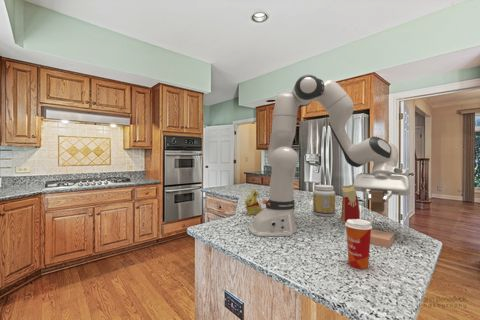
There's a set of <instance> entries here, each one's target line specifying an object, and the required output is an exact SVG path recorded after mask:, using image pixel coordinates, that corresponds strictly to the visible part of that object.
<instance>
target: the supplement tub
mask: <svg viewBox="0 0 480 320" xmlns="http://www.w3.org/2000/svg"><path fill="white" fill-rule="evenodd" d="M334 189H335V188H334V185H332V184H331V185H330V184H314V190H313V191H312V193H313V194H312V195H313V196H312V198H313V200H312V204H313V205H312V207H313V208H312V211H313V214H314V215H316V216H317V217H318V216H319V217H324V218H325V217H326V218H327V217H334V216H335V214H336V191H335V190H334Z"/></svg>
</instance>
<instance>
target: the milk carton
mask: <svg viewBox="0 0 480 320" xmlns="http://www.w3.org/2000/svg"><path fill="white" fill-rule="evenodd" d="M353 184H354V183H353ZM353 184H349V185H341V186H340V187H341V189H342V190H343V191H342V199H341V201H342V202H341V215H340V222H341V223H343V224H346V222H347V220H348V219H350V220H351V219H355V220H356V219H361V209H360V208H361V207H360V201H359V197H358V195H357V191H356V190H355V189H354V186H353Z"/></svg>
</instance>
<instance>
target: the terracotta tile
mask: <svg viewBox="0 0 480 320" xmlns="http://www.w3.org/2000/svg"><path fill="white" fill-rule="evenodd" d="M394 242H395V233H393V232H389V231H383V230H378V229H373V228H372V229H371V236H370V245H374V246H378V247H384V248H388V249H390V247H391V246H392V245H393V243H394Z"/></svg>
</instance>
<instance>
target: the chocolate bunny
mask: <svg viewBox="0 0 480 320" xmlns="http://www.w3.org/2000/svg"><path fill="white" fill-rule="evenodd" d="M258 196H259V191H257V190H256V189H254V188H253V189H252V190H251V192H250V194H249V195H248V196H247V197H246V198H245V200H244V203H245V205H246V206H245V209H246V211H247V213H246V215H247V216H256V215H257V214H258V213H260V212H261V211H262V210H263V209H262V206H261V204H260V202H259V201H258V200H257V198H258Z"/></svg>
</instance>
